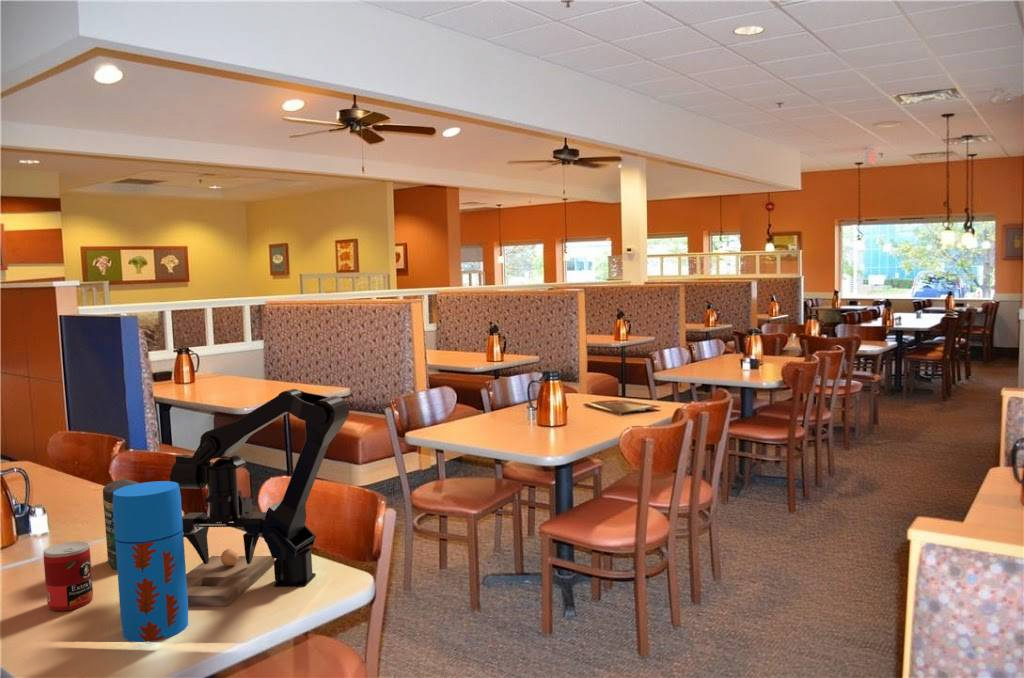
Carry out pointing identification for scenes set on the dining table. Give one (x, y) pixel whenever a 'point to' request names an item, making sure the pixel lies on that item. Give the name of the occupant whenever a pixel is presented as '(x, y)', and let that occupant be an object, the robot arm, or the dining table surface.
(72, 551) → the canned food
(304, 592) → the dining table surface
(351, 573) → the dining table surface
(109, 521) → the coffee jar
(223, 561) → the ball
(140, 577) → the thermos
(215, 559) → the board
